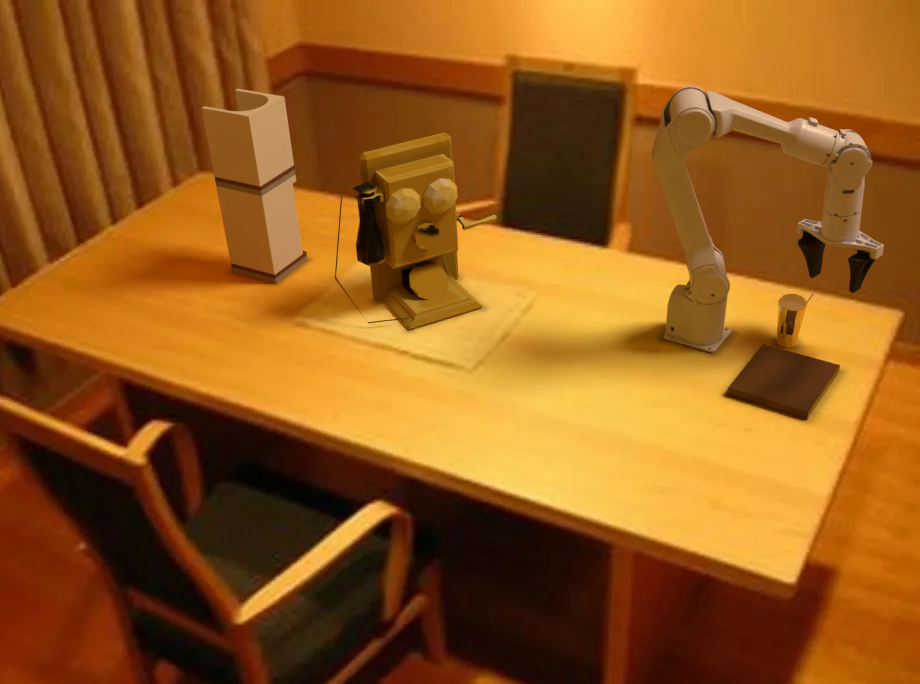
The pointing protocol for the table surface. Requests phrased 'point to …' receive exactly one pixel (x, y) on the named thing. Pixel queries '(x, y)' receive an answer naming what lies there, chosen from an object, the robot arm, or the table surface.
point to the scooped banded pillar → (256, 185)
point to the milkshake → (790, 319)
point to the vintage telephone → (412, 230)
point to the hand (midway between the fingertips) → (834, 282)
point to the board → (784, 381)
